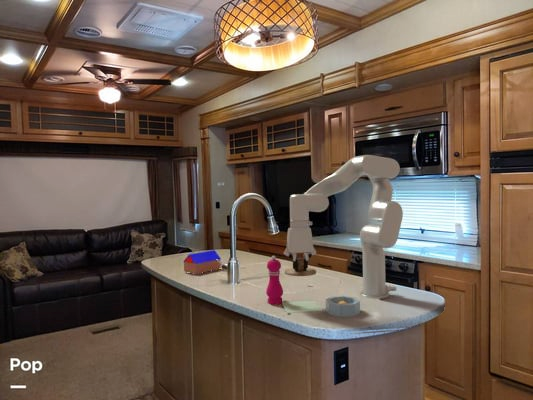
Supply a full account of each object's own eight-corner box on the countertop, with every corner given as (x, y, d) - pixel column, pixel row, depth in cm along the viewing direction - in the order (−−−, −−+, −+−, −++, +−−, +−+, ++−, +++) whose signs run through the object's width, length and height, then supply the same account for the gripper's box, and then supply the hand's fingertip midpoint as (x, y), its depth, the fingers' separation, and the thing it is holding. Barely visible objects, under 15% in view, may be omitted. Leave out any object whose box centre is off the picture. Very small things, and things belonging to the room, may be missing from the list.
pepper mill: (273, 306, 161) (272, 258, 161) (263, 302, 167) (261, 255, 166) (286, 302, 165) (285, 255, 165) (276, 299, 171) (275, 253, 171)
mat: (314, 301, 165) (314, 300, 165) (323, 311, 152) (323, 310, 151) (282, 303, 164) (282, 302, 164) (287, 314, 150) (287, 312, 150)
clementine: (346, 309, 151) (346, 299, 151) (349, 312, 148) (349, 302, 147) (336, 310, 151) (336, 300, 151) (339, 313, 147) (339, 303, 147)
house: (221, 269, 241) (220, 250, 241) (195, 275, 226) (195, 255, 226) (208, 267, 249) (208, 249, 249) (183, 272, 234) (182, 253, 234)
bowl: (352, 307, 156) (352, 295, 156) (363, 317, 144) (363, 303, 144) (323, 309, 155) (323, 296, 154) (331, 319, 143) (331, 305, 143)
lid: (312, 269, 164) (311, 255, 164) (319, 275, 152) (319, 260, 152) (282, 270, 163) (282, 256, 163) (287, 276, 150) (287, 261, 150)
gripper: (317, 223, 162) (318, 267, 162) (278, 224, 160) (278, 269, 160) (321, 225, 154) (322, 271, 154) (280, 226, 152) (281, 273, 153)
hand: (300, 269), depth 157 cm, fingers closed on lid, 3 cm apart
